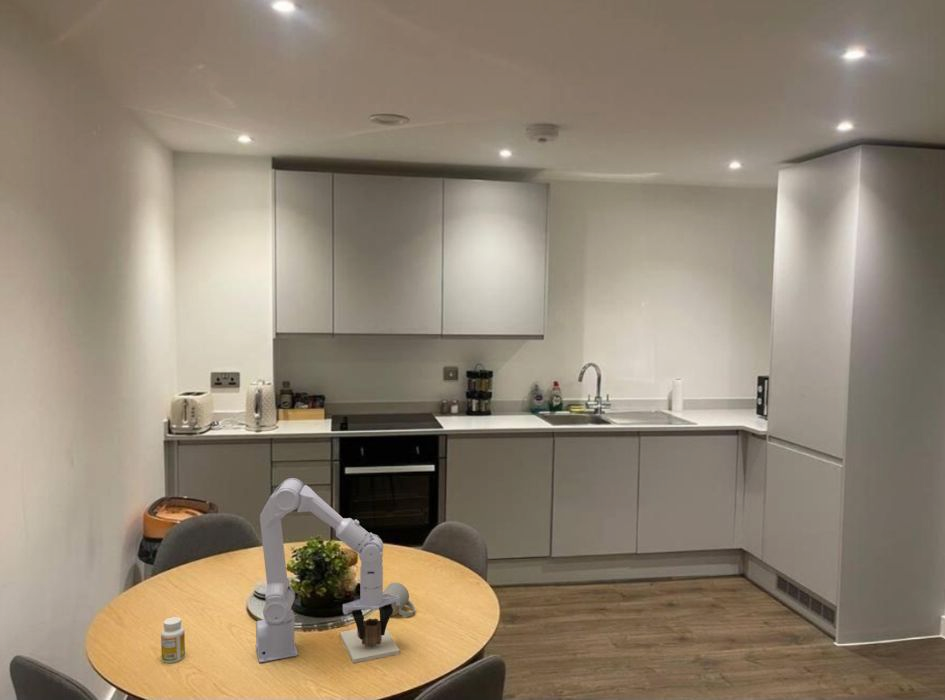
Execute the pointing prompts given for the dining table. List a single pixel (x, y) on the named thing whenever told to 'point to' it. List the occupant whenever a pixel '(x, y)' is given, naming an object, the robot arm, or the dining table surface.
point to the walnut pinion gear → (372, 632)
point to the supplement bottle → (172, 640)
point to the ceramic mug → (404, 598)
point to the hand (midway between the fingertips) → (371, 635)
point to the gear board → (365, 653)
